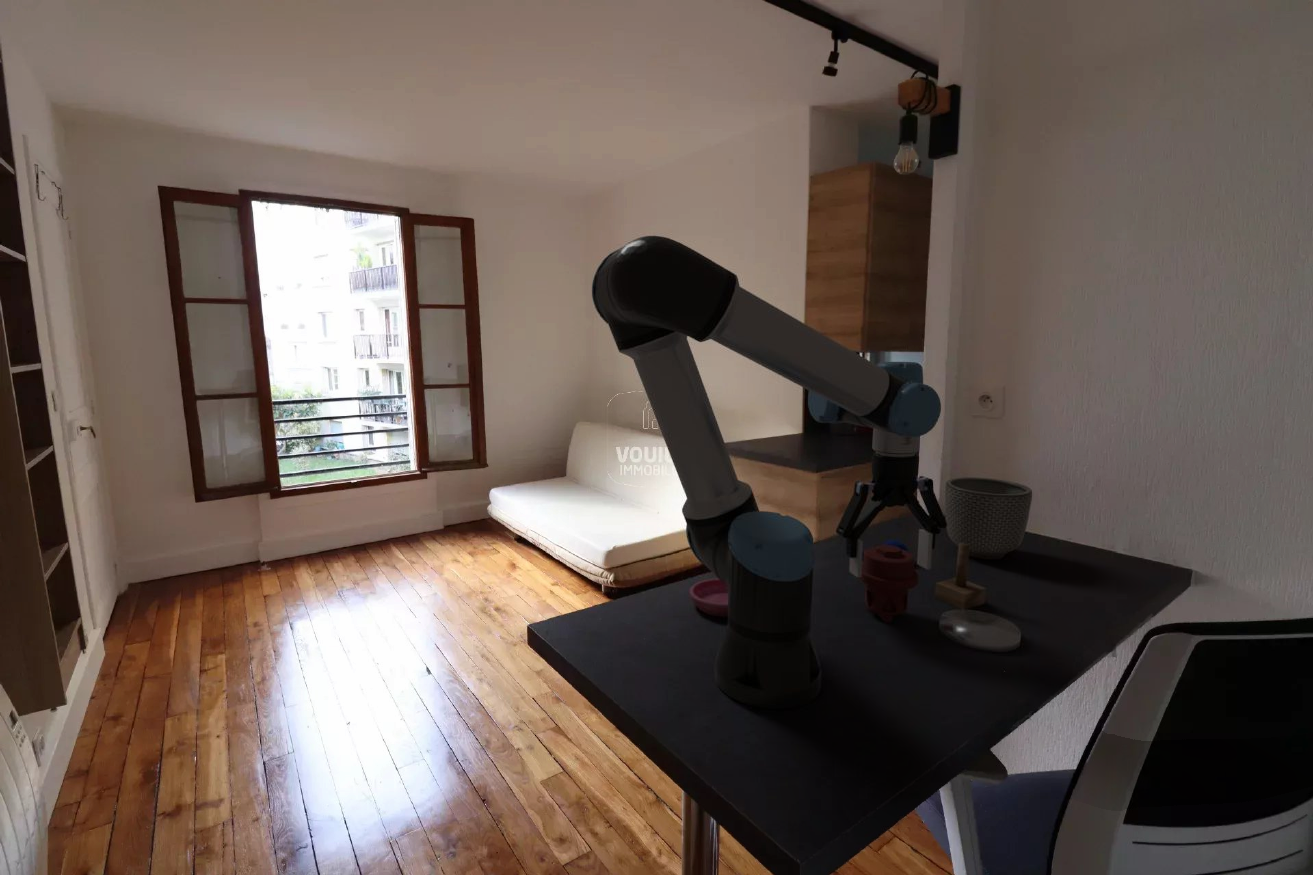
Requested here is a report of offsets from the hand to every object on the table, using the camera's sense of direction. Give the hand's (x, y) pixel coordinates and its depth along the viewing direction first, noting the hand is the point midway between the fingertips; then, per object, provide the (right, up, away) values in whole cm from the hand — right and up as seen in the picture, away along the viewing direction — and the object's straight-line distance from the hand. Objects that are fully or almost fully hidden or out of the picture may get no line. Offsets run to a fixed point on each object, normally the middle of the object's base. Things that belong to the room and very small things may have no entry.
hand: (890, 570), depth 108 cm
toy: (+8, -5, +24) cm, 26 cm away
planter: (+33, -3, +32) cm, 47 cm away
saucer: (-29, -8, +5) cm, 30 cm away
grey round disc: (+13, -9, -6) cm, 17 cm away
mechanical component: (0, -8, +1) cm, 8 cm away
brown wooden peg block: (+16, -7, +7) cm, 19 cm away
